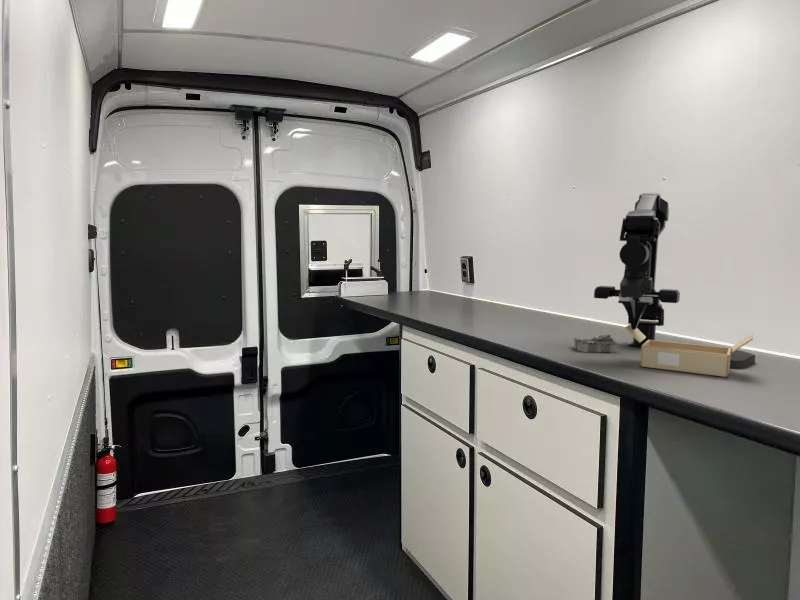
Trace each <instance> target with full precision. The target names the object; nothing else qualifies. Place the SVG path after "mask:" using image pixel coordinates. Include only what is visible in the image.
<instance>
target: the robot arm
mask: <svg viewBox="0 0 800 600" xmlns="http://www.w3.org/2000/svg"><path fill="white" fill-rule="evenodd" d="M669 209H670V208H669V202H668V201H666V200H665V199H663V198H662V197H661V194H660V193H658V192H650V193H649V192H647V193H646V192H643V193H641V194H639V196H638V200H637V201H635V203H634V210H631V211H628V212H627V213H626V215H625V217H624V218H622V225H621V228H620V229H621V230H620V234H619V241H620V242H626V243H624V244H623V246H622V247H621V248H620V251H619V259H620V261H621V262H622V264H624V272H623V277H622V279H621V281H620V283H619V289H616V287H615V286H614V285H613V286H611V285H598V286H596V287H595V288H594V292H593V298H594V299H601V300H602V299H604V300H607V299H609V298H613V297H615V298H618V301H617V302H618V304H622V305H623V307H624V309H625V311H626V313H627V316H628V317H627V319H628V322H627V323H628V325H630V324H631V327H632V329H634V330H635V329H636V328H638V329H639V330H640V331H641V332H642V333H643V334H644V335H645V336H646V338H645V339H644V340H643V341H641V342H640V343H639V342H638V341H637V340H636V339H635V338H634V337H633V336H632V341H631V342H630V343H629V346H631V347H640V348H641V346H642V345H643V344H644V343H645V342H646V341H647V340H656V329H657V326H658V327H661V326H665V325H664V323H665V309H664V308H663V305H662V304H661V303H664V304H665V303H666V304H667V303H668V304H669V303H671V304H677V303H679V302H680V296H681V294H680V293H681V292H680V290H678V289H673V288H672V289H671V288H670V289H669V288H660V289H659V291H657V290H656V287H655V286H656V274H657V260H658V259H657V257H658V246H659V245H658V244H659V237H660V235H661V233H662V232H663V231H664V229H665V228H666V223H667V222H668V221H669V215H670V213H669V211H670V210H669Z"/></svg>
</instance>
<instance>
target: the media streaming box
mask: <svg viewBox="0 0 800 600" xmlns="http://www.w3.org/2000/svg"><path fill="white" fill-rule="evenodd" d="M732 349H733V348H731V357H730V369H735V370H736V369H745V368H748V367H750V366H751V367H752V365H755V362H756V355H755V354H753V353H751V352H747V351H743V350H739V349H738V350H736V351H734V352H732Z"/></svg>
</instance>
